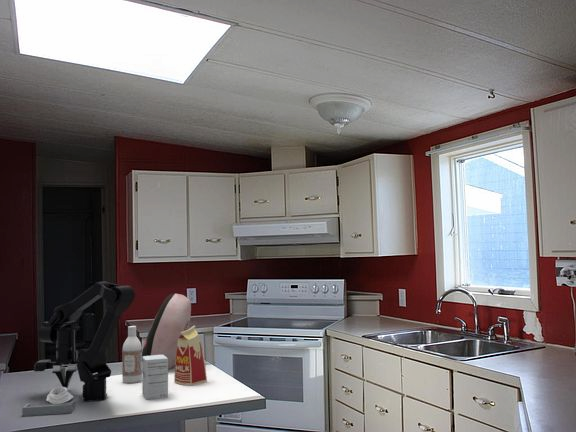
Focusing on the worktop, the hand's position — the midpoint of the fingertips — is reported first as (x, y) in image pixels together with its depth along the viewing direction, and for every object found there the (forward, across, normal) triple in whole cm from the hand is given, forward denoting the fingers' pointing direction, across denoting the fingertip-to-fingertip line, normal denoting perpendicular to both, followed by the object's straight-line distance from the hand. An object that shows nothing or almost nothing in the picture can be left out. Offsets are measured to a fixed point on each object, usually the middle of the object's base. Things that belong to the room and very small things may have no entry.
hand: (65, 390), depth 183 cm
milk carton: (+2, -41, -8) cm, 42 cm away
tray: (+1, 0, +20) cm, 20 cm away
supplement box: (+2, -30, +8) cm, 31 cm away
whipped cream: (+2, 0, +8) cm, 8 cm away
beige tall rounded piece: (+2, -31, -36) cm, 48 cm away
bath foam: (+2, -20, -15) cm, 25 cm away
